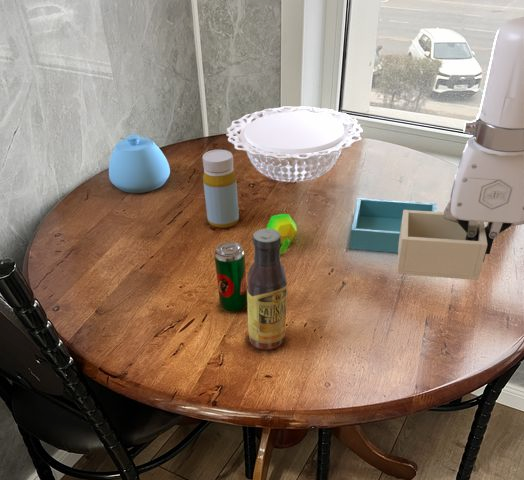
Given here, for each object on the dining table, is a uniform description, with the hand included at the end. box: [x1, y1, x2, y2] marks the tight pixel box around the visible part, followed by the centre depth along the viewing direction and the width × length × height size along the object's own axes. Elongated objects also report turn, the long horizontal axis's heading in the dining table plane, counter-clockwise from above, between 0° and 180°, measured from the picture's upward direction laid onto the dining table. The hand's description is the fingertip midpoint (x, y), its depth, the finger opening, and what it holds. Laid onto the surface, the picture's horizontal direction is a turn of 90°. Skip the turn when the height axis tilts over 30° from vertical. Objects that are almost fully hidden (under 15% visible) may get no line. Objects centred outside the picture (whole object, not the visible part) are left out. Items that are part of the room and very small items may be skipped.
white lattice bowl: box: [225, 105, 364, 183], centre depth 130 cm, size 32×32×13 cm
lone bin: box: [396, 210, 488, 281], centre depth 80 cm, size 12×8×6 cm
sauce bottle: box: [246, 228, 288, 351], centre depth 84 cm, size 7×6×20 cm
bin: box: [349, 197, 438, 254], centre depth 112 cm, size 17×14×4 cm
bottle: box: [202, 149, 240, 229], centre depth 115 cm, size 7×7×15 cm
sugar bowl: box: [108, 133, 171, 194], centre depth 133 cm, size 15×15×12 cm
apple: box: [266, 213, 298, 256], centre depth 111 cm, size 7×6×9 cm
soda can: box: [213, 241, 248, 313], centre depth 94 cm, size 5×5×12 cm
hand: (475, 256), depth 80 cm, fingers closed on lone bin, 1 cm apart
